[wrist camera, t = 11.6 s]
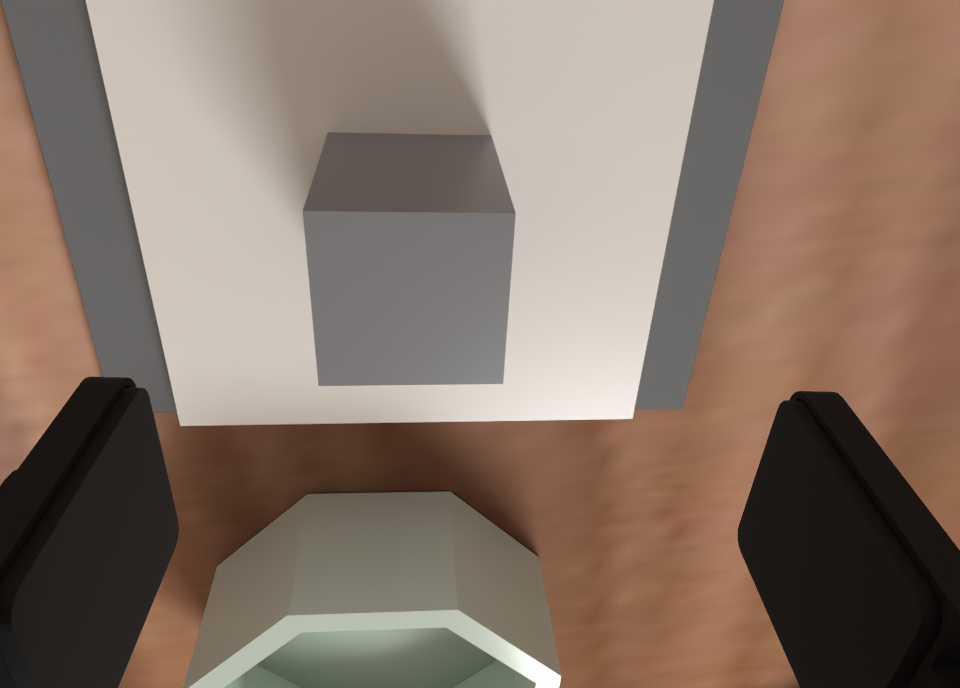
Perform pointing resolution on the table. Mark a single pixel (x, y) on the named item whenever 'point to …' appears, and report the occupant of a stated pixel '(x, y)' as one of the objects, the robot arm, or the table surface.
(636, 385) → the lid
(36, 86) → the mat
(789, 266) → the table surface
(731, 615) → the table surface
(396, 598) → the bowl
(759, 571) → the robot arm
